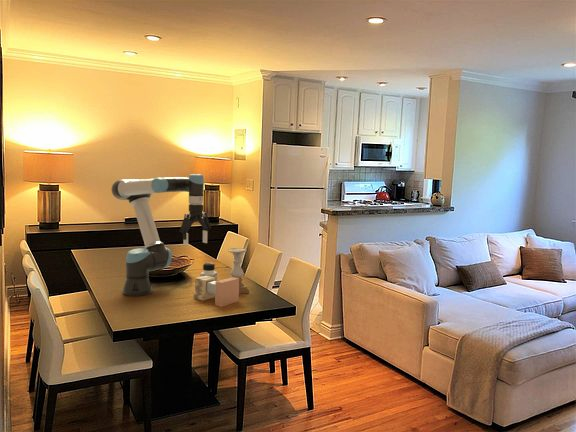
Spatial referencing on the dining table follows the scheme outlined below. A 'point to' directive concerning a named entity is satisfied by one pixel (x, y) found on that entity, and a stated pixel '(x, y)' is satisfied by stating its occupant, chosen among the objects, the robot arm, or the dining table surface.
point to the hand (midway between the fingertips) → (195, 244)
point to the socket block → (227, 291)
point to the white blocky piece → (202, 288)
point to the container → (209, 270)
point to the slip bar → (211, 286)
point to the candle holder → (238, 268)
